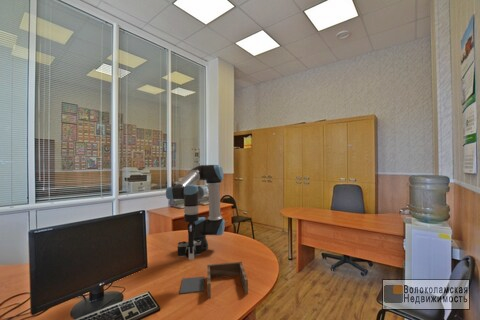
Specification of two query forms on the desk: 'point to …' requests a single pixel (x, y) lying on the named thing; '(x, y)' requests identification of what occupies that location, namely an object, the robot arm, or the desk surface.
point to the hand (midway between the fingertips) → (192, 255)
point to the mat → (192, 285)
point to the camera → (184, 250)
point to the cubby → (226, 273)
